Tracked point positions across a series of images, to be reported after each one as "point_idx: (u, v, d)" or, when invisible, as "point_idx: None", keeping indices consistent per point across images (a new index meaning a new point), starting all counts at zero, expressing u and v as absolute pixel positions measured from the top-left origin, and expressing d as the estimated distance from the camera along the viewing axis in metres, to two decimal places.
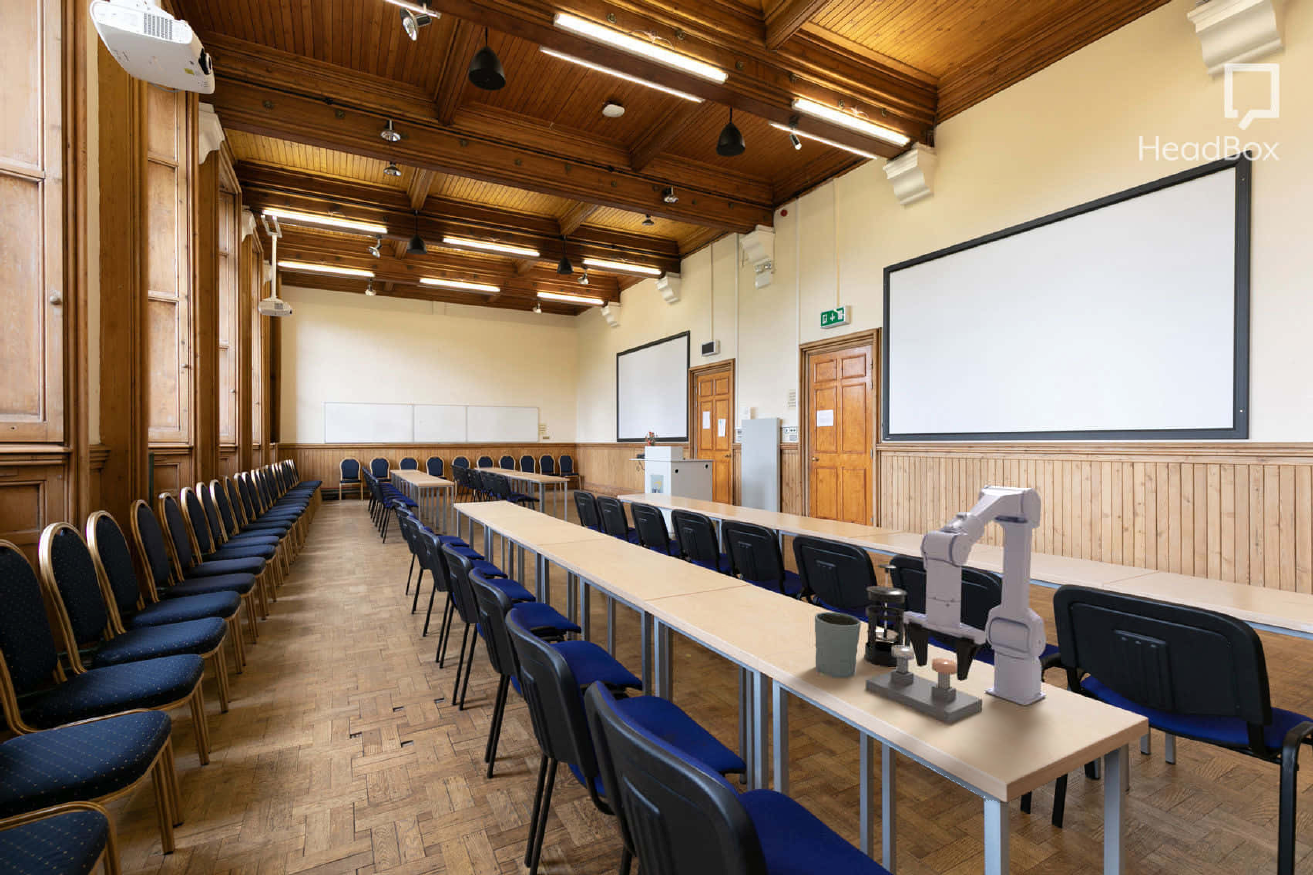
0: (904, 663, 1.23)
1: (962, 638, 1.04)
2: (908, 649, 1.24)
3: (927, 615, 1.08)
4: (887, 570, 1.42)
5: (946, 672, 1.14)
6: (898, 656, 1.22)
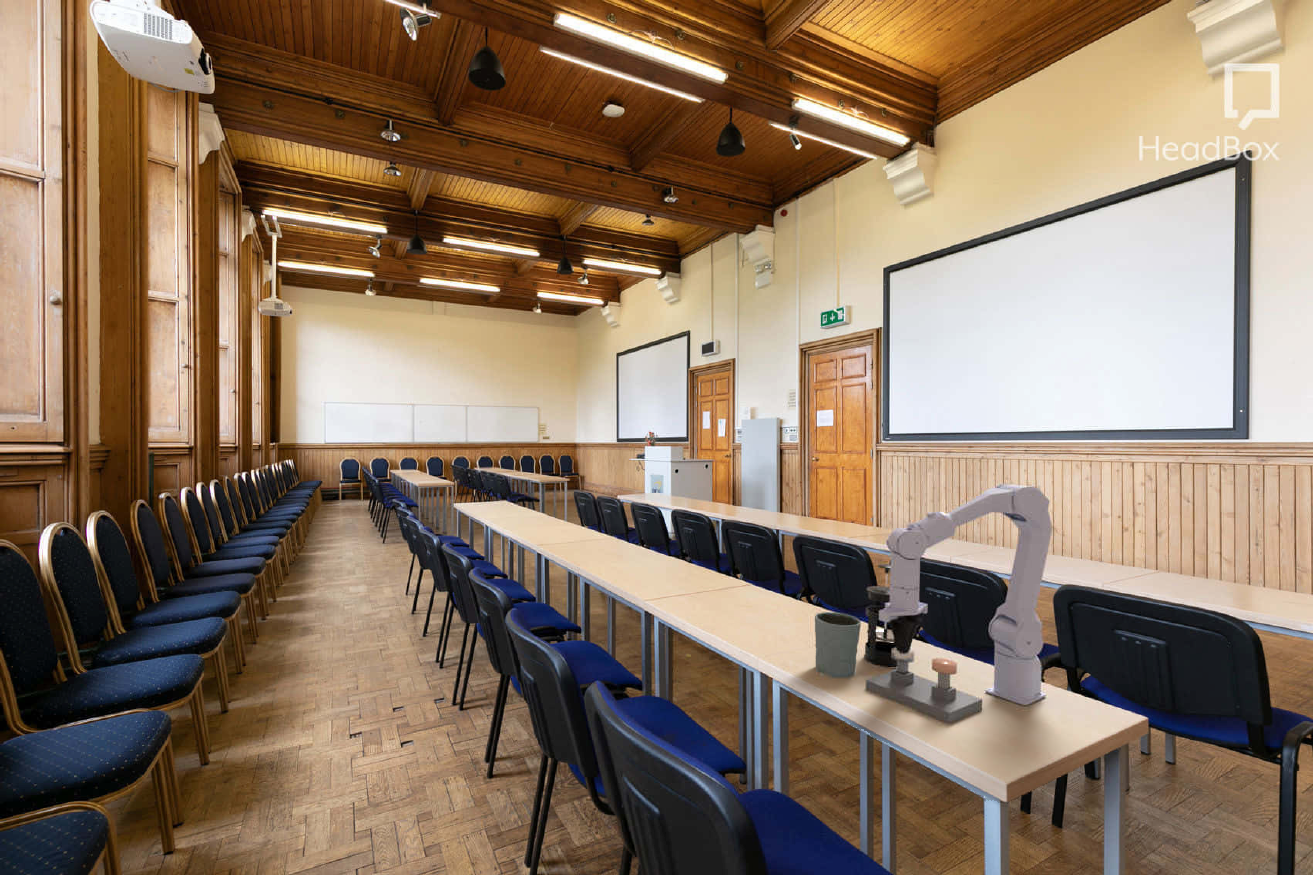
0: (904, 666, 1.23)
1: None
2: (908, 652, 1.24)
3: None
4: (887, 570, 1.42)
5: (946, 672, 1.14)
6: (898, 659, 1.22)
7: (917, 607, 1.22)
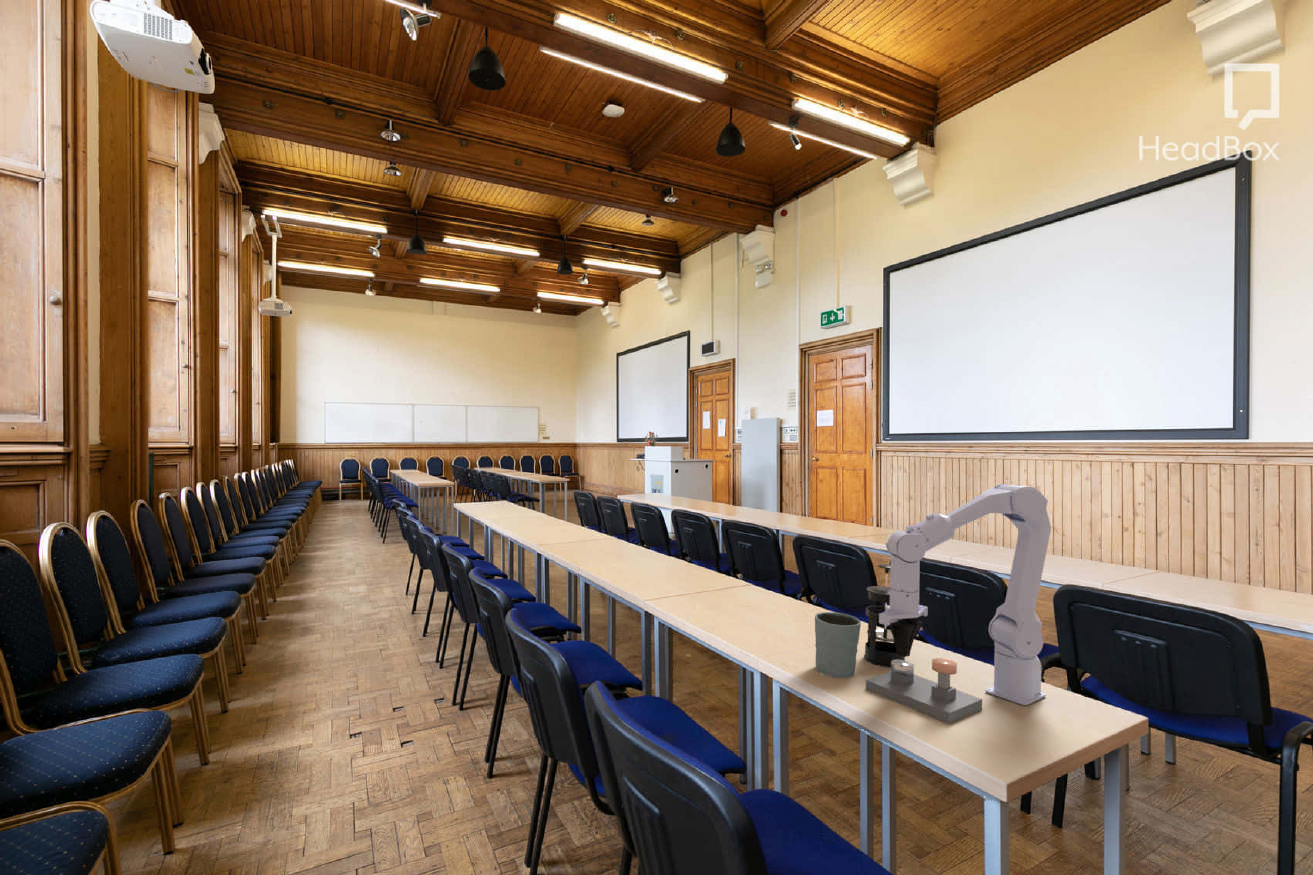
0: None
1: None
2: (908, 664, 1.23)
3: None
4: (887, 570, 1.42)
5: (946, 672, 1.14)
6: (898, 671, 1.22)
7: (917, 610, 1.22)
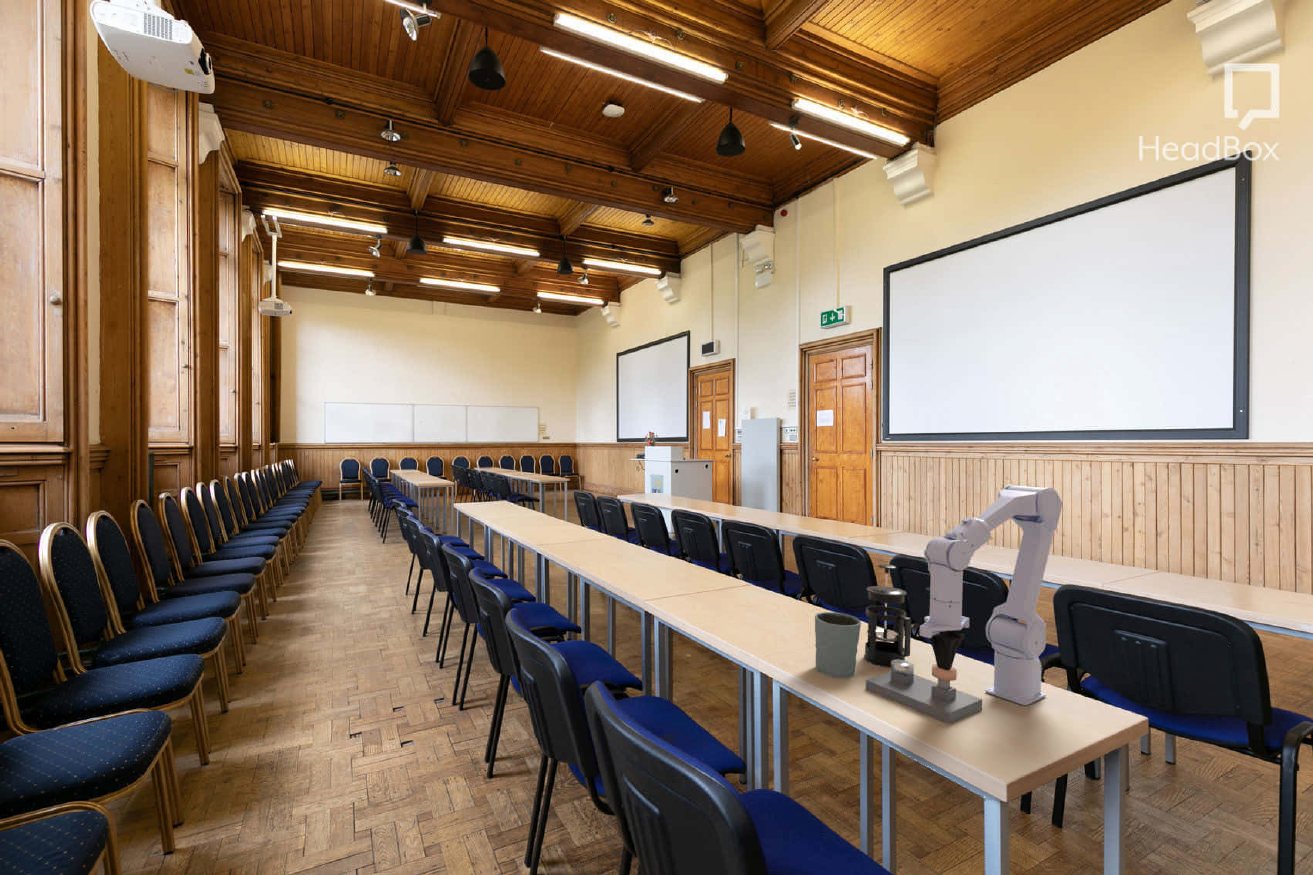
0: None
1: None
2: (908, 664, 1.23)
3: None
4: (887, 570, 1.42)
5: (946, 678, 1.14)
6: (898, 671, 1.22)
7: (960, 622, 1.15)
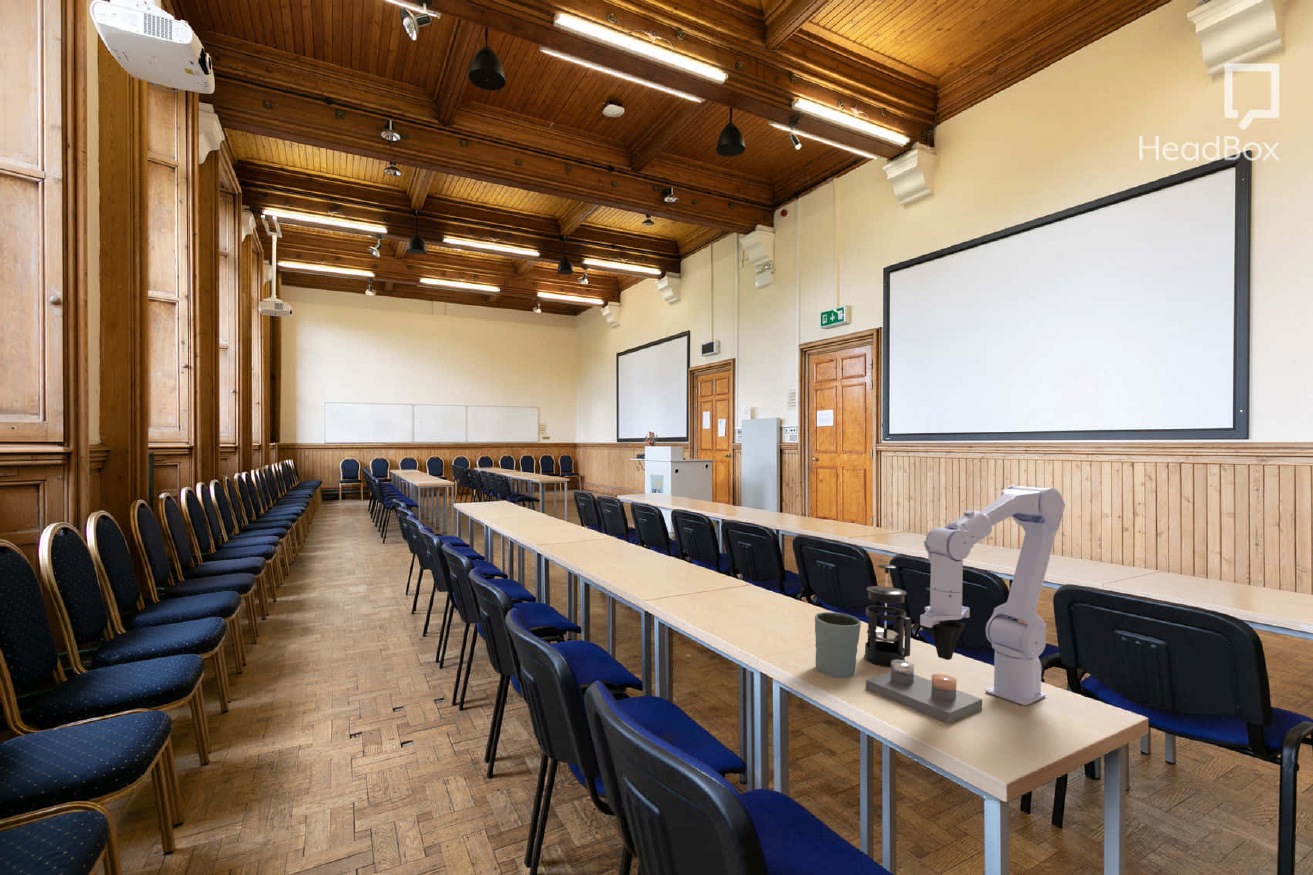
0: None
1: None
2: (908, 664, 1.23)
3: None
4: (887, 570, 1.42)
5: (946, 688, 1.14)
6: (898, 671, 1.22)
7: (960, 611, 1.15)
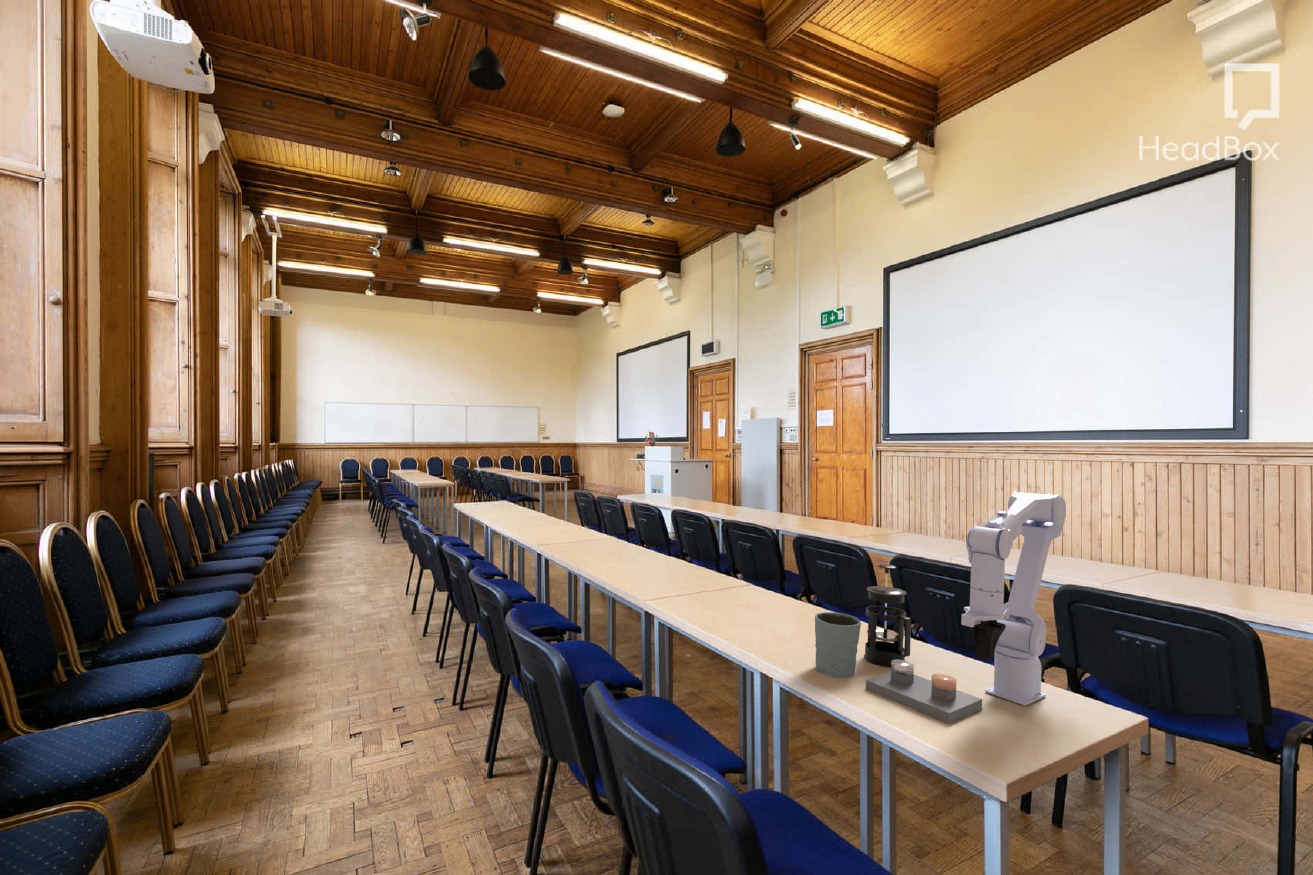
0: None
1: None
2: (908, 664, 1.23)
3: None
4: (887, 570, 1.42)
5: (946, 688, 1.14)
6: (898, 671, 1.22)
7: (1002, 612, 1.13)
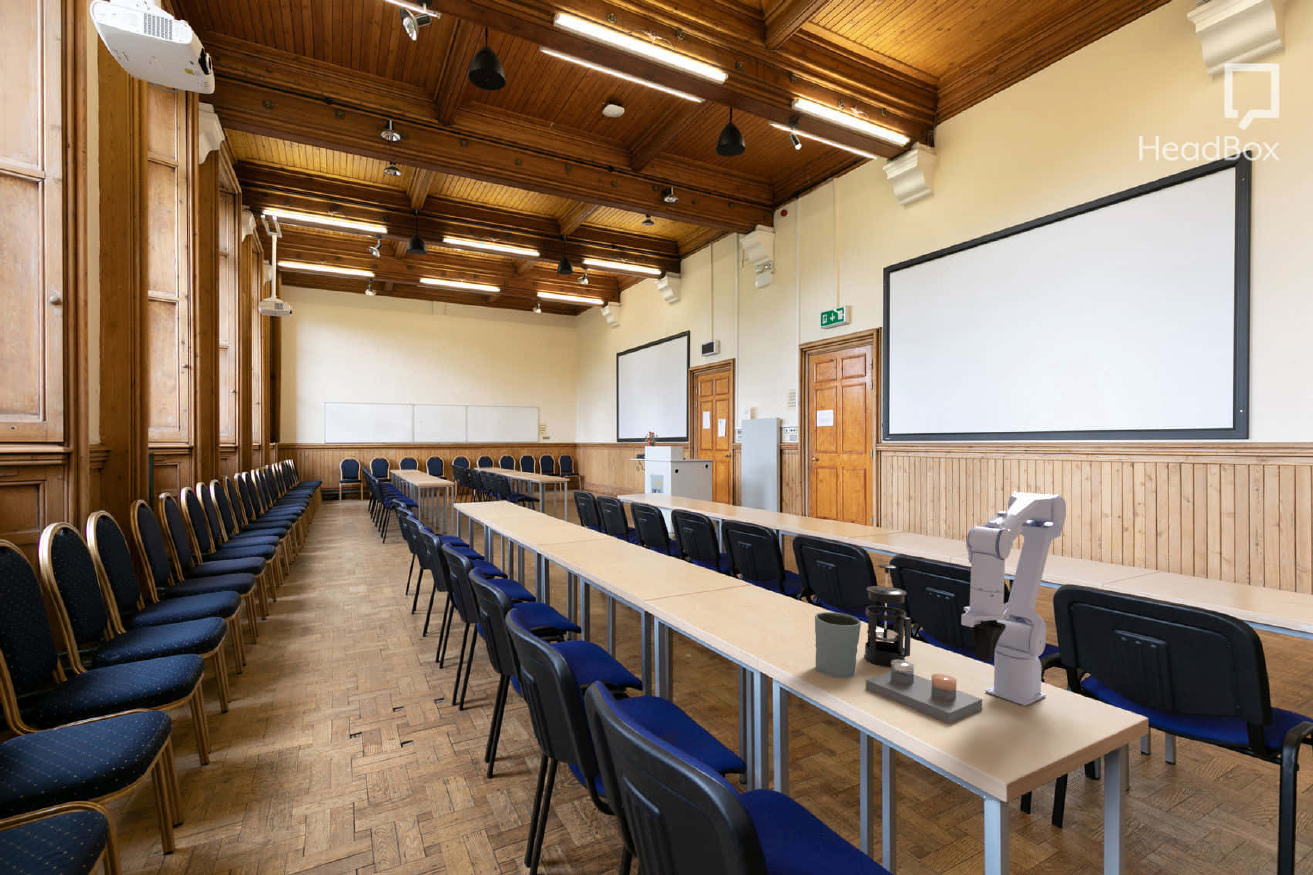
0: None
1: None
2: (908, 664, 1.23)
3: None
4: (887, 570, 1.42)
5: (946, 688, 1.14)
6: (898, 671, 1.22)
7: (1002, 612, 1.13)
